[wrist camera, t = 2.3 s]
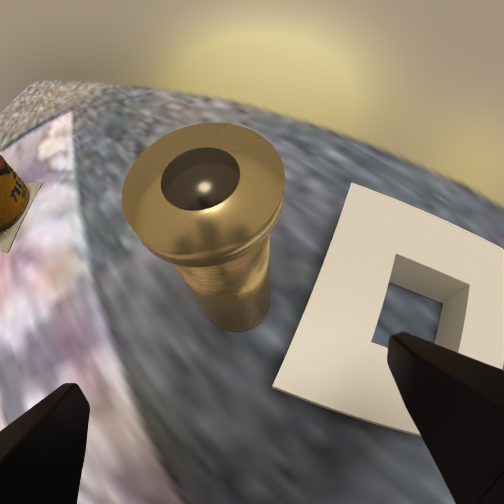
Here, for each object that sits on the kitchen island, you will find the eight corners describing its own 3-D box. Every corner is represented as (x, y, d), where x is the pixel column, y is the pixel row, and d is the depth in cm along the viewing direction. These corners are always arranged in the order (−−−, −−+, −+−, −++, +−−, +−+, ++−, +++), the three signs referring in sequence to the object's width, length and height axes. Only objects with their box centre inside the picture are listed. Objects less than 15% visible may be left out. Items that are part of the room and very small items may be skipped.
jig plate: (450, 443, 16) (481, 447, 12) (271, 387, 19) (272, 385, 15) (486, 274, 21) (513, 254, 17) (341, 213, 24) (351, 182, 21)
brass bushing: (257, 352, 20) (239, 281, 8) (185, 319, 21) (92, 217, 9) (289, 281, 22) (307, 143, 10) (219, 253, 23) (176, 111, 12)
